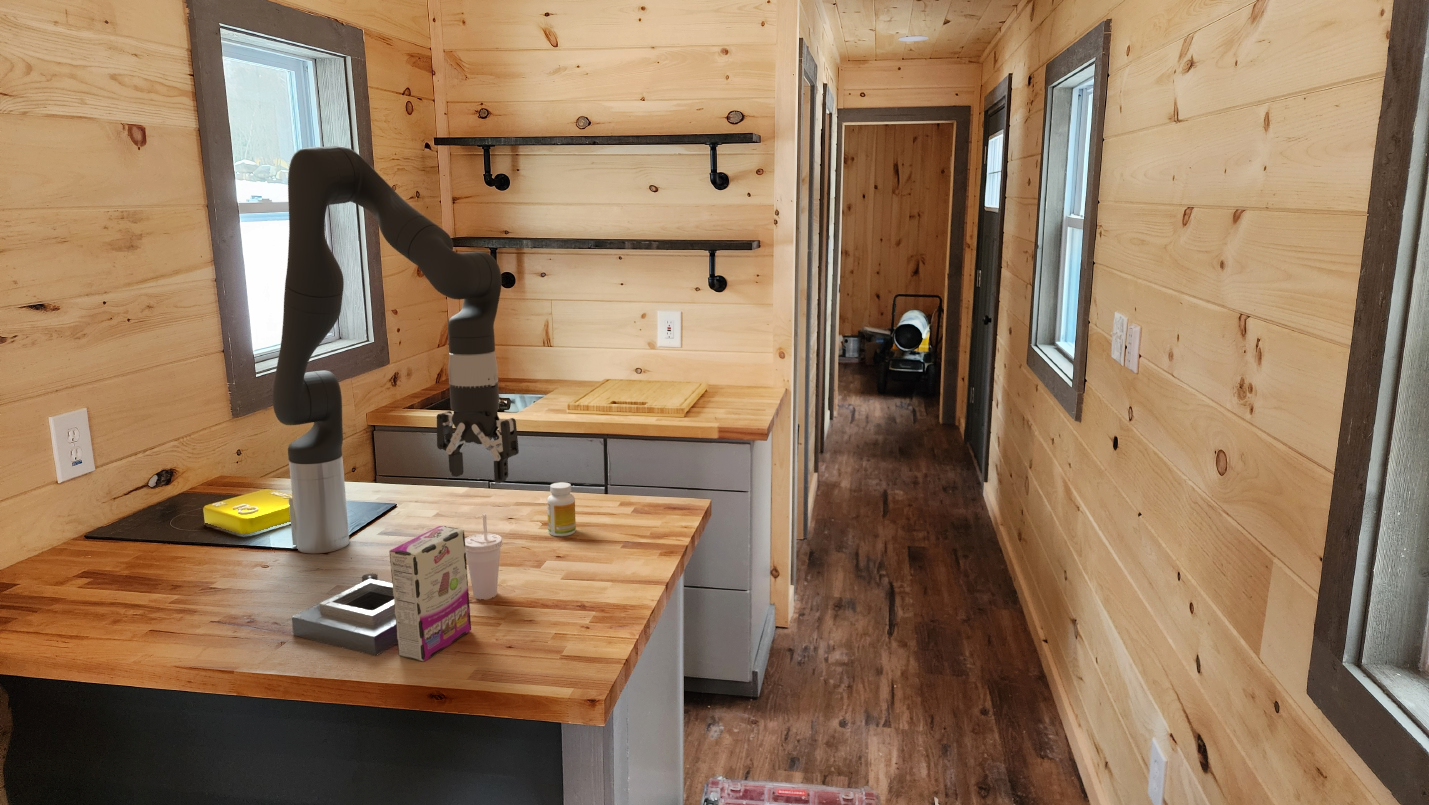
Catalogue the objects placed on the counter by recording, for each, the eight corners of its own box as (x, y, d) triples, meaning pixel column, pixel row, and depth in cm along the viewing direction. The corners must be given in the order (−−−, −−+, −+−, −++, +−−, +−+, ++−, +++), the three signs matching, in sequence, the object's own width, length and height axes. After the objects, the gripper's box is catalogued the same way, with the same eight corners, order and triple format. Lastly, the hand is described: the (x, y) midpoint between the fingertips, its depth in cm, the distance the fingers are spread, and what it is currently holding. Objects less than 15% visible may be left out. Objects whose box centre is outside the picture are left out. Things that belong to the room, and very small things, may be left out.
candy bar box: (445, 625, 145) (439, 524, 142) (472, 631, 143) (466, 528, 140) (395, 657, 135) (387, 548, 132) (423, 663, 133) (416, 554, 130)
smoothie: (495, 604, 153) (491, 522, 150) (458, 601, 154) (453, 519, 151) (511, 588, 159) (507, 509, 156) (475, 585, 160) (471, 507, 157)
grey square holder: (293, 635, 142) (290, 607, 141) (371, 595, 156) (369, 570, 155) (375, 655, 135) (373, 626, 134) (448, 612, 150) (447, 586, 149)
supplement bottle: (581, 530, 187) (580, 483, 185) (563, 538, 182) (561, 490, 180) (560, 525, 190) (559, 479, 188) (542, 533, 185) (540, 486, 183)
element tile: (313, 519, 194) (311, 496, 193) (245, 540, 182) (243, 517, 181) (269, 507, 202) (266, 485, 201) (200, 527, 190) (198, 504, 189)
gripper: (421, 380, 148) (428, 479, 152) (496, 387, 143) (501, 490, 146) (453, 373, 155) (458, 468, 158) (525, 379, 149) (529, 477, 153)
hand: (479, 478), depth 152 cm, fingers open, 8 cm apart
